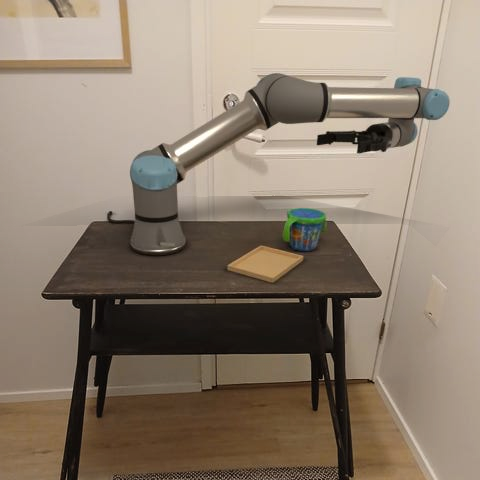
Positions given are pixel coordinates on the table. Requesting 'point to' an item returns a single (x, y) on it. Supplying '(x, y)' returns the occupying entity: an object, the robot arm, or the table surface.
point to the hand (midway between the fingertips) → (337, 144)
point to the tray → (265, 263)
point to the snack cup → (304, 228)
